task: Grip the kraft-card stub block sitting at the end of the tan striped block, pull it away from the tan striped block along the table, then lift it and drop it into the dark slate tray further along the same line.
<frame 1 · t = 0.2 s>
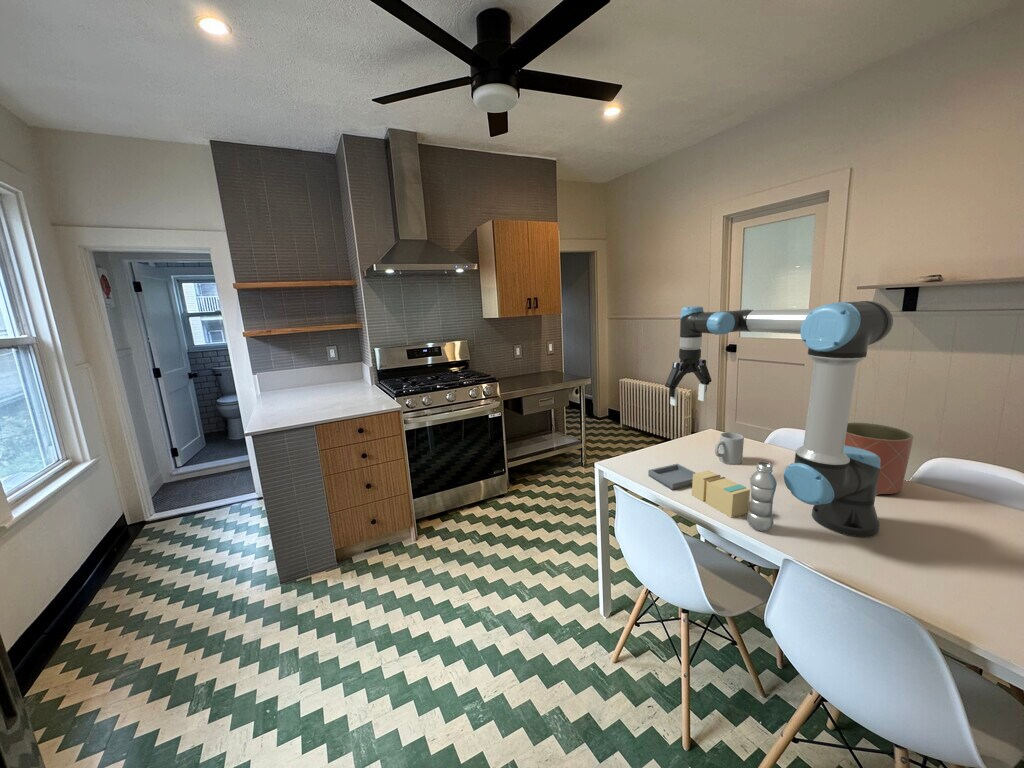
hand: (687, 402, 149), 27 cm above the table, fingers open, 13 cm apart
plastic bottle: (759, 528, 114), on the table
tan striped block: (726, 507, 126), on the table
mug: (726, 461, 160), on the table
tray: (674, 479, 147), on the table
stub: (705, 496, 133), on the table
planter: (865, 485, 136), on the table
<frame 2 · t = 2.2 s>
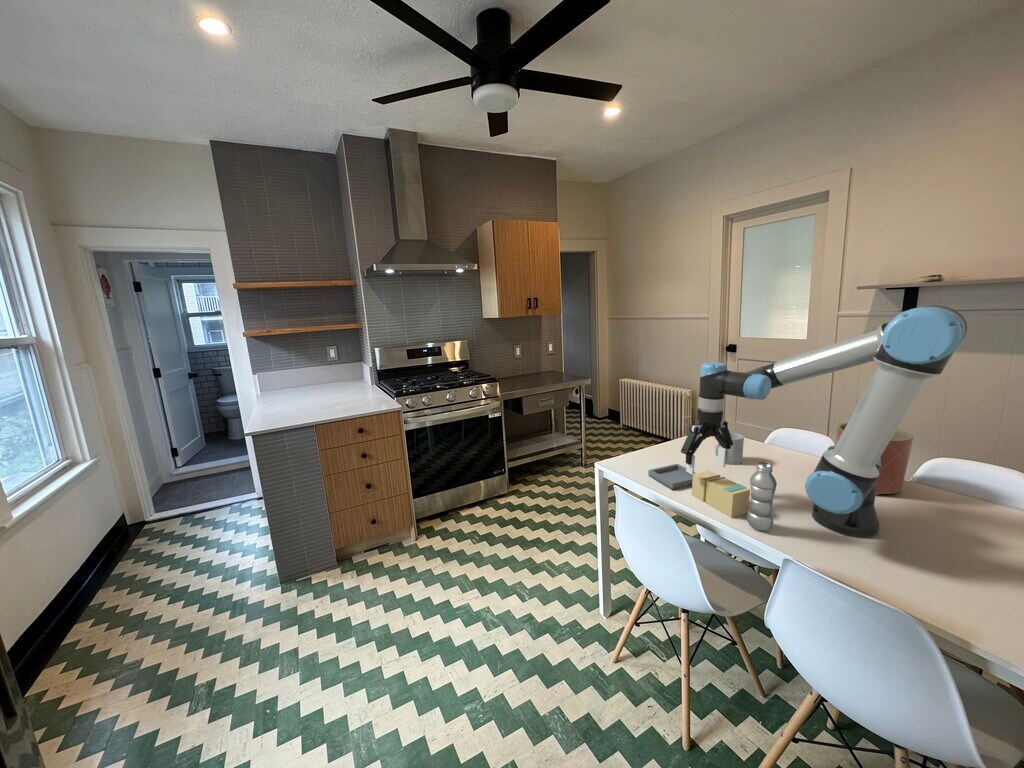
hand: (705, 469, 132), 10 cm above the table, fingers open, 13 cm apart
nothing on the table moved.
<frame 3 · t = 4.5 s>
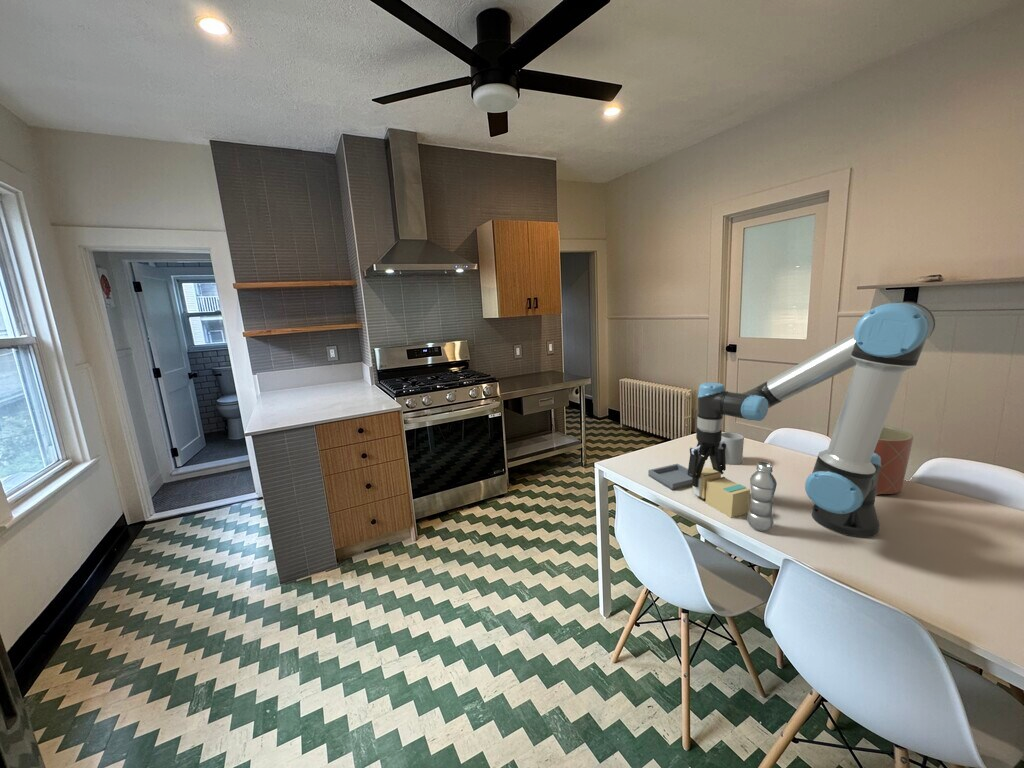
hand: (705, 492, 133), 1 cm above the table, fingers closed on stub, 7 cm apart
stub: (705, 493, 133), point 1 cm above the table, touching gripper
everything else where it was.
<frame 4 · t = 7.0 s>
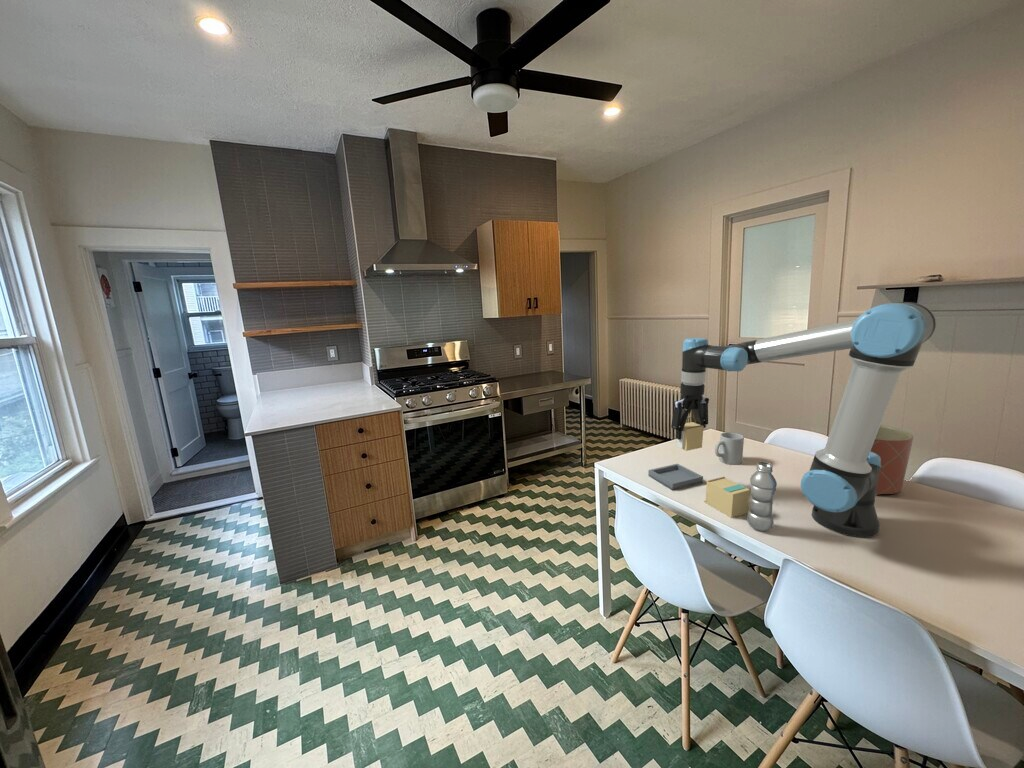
hand: (688, 445, 138), 16 cm above the table, fingers closed on stub, 7 cm apart
stub: (688, 446, 138), point 15 cm above the table, touching gripper
everything else where it was.
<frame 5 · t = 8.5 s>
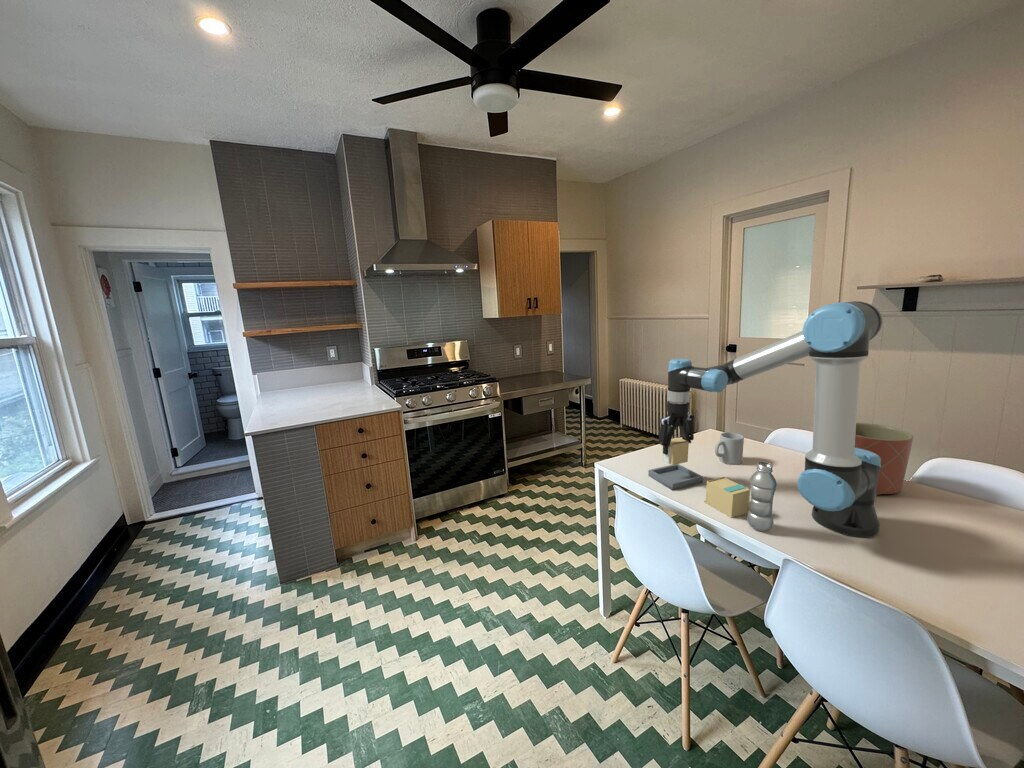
hand: (675, 460, 145), 8 cm above the table, fingers closed on stub, 7 cm apart
stub: (675, 461, 145), point 7 cm above the table, touching gripper
everything else where it was.
when the fingers open (3 cm above the table, at t = 9.6 s): stub drops 2 cm, resting on tray.
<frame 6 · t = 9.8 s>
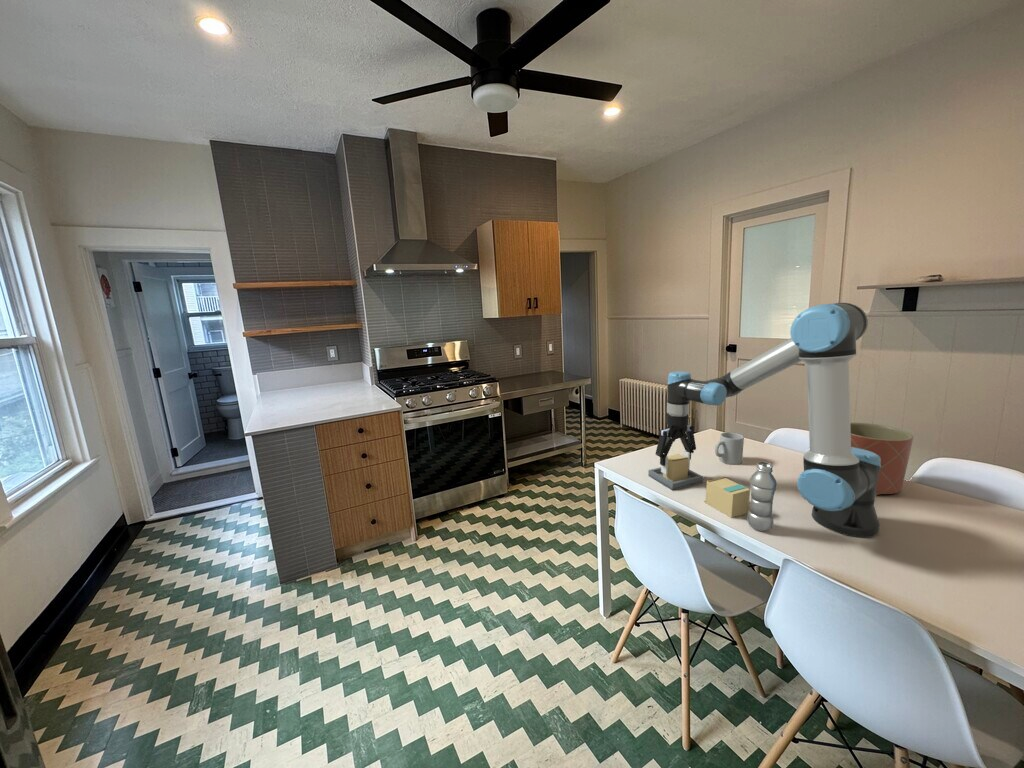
hand: (675, 470, 146), 4 cm above the table, fingers open, 9 cm apart
stub: (675, 477, 147), point 1 cm above the table, touching tray
everything else where it was.
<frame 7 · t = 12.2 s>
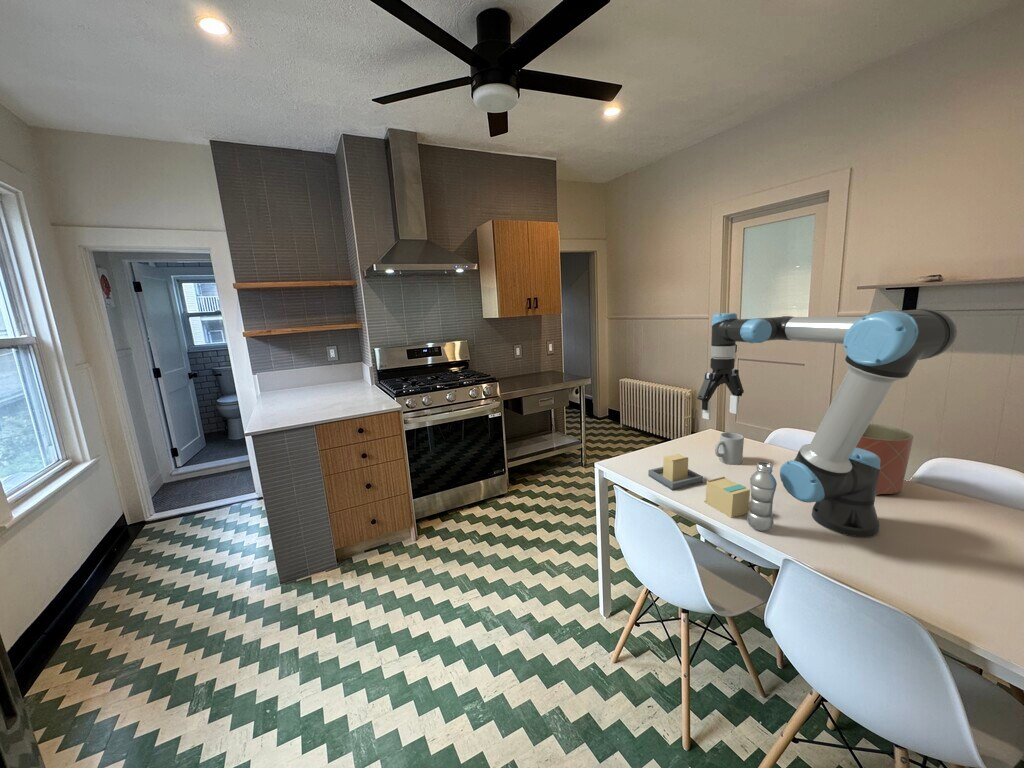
hand: (720, 415, 140), 25 cm above the table, fingers open, 13 cm apart
nothing on the table moved.
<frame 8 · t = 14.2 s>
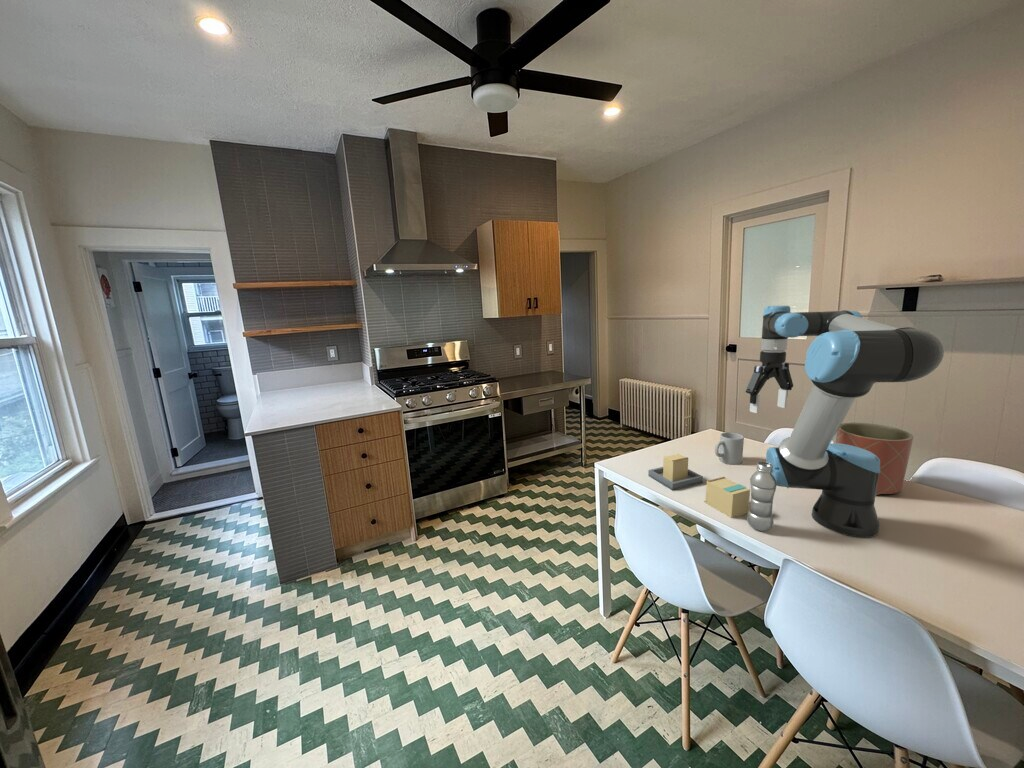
hand: (767, 409, 138), 27 cm above the table, fingers open, 13 cm apart
nothing on the table moved.
at the end: stub inside the target area on the tray (0.1 cm from its centre), point 0.8 cm above the tray's base; stub moved 14.4 cm from its start; the gripper is holding nothing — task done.
